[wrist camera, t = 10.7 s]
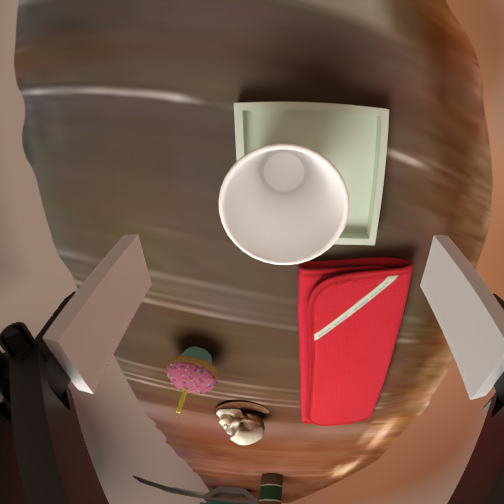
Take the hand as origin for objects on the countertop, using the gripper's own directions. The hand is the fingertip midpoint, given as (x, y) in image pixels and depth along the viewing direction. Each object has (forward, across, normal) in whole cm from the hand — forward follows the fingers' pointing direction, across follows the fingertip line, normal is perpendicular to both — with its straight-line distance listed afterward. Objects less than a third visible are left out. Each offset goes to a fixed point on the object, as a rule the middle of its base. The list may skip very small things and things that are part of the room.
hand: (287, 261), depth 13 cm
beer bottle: (+20, -2, -102) cm, 104 cm away
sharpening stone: (+20, -18, -131) cm, 134 cm away
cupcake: (+21, -15, -33) cm, 42 cm away
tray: (+22, +3, -2) cm, 22 cm away
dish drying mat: (+22, +10, -34) cm, 42 cm away
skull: (+21, -8, -53) cm, 58 cm away
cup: (+21, 0, -2) cm, 21 cm away
